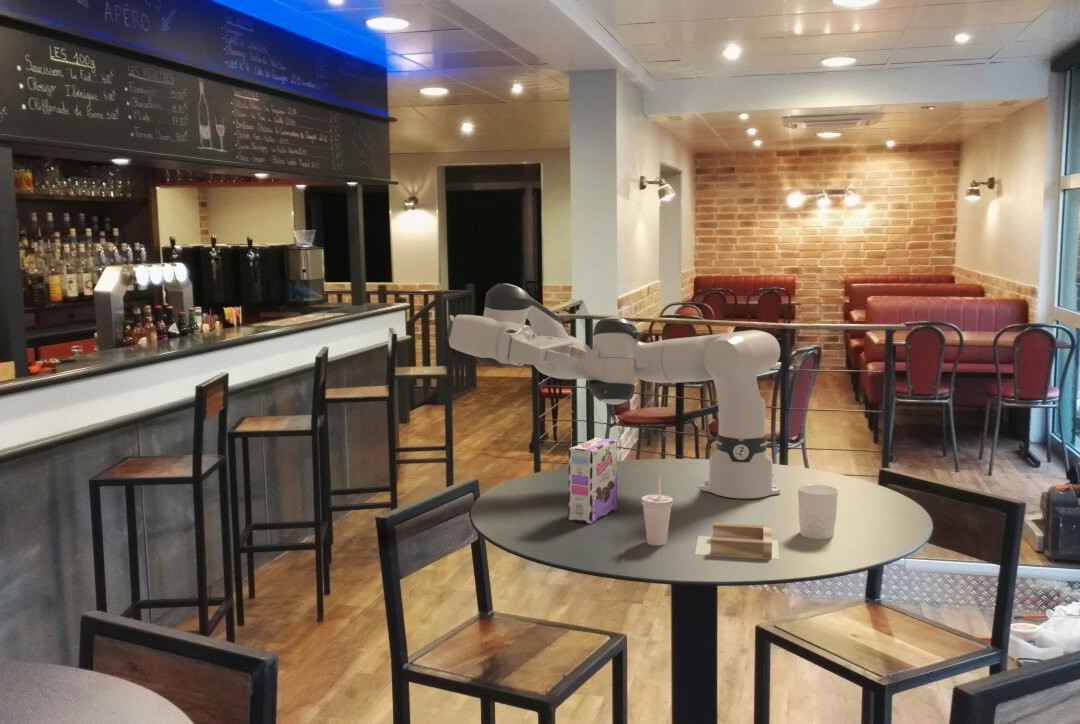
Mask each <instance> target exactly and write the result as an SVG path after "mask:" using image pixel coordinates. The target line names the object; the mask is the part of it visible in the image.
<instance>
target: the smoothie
mask: <svg viewBox="0 0 1080 724" xmlns="http://www.w3.org/2000/svg"><path fill="white" fill-rule="evenodd" d="M657 483H658V487H657V489H658V491H657V492H658V494H647V495H644V496H642V497H641V502H640V504H641V505H642V508H643V516H644V517H643V518H644V524H645V535H646V541H647V544H648V545H651V546H657V547H659V546H664V545H667V540H668V533H669V525H670V519H671V518H670V516H671V510H672V506H673V505H674V501H673V500H674V499H673V498H672V497H671V496H669V495H665V494H662V477H658V481H657Z"/></svg>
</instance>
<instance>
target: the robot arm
mask: <svg viewBox="0 0 1080 724" xmlns="http://www.w3.org/2000/svg"><path fill="white" fill-rule="evenodd" d="M485 294H486V295H485V301H484V302H485V303H484V310H483V316H482V315H475V314H457V315H455V317H454V318H453V319H452V321H451V324H450V327H449V331H448V338H447V339H448V344H449V347H450V348H452V349H453V350H456V351H458V352H461V353H464V354H466V355H470V356H473V357H474V358H475V359H476V361H478V363H479V364H487V365H490V366H494V367H497V368H502V369H505V368H508V367H509V366H511V365H514V366H518V367H522V366H524V365H531V366H534V367H535V369H536V370H537V371H538V372H539V373H541V374H543V375H545V376H548V377H551V378H555V379H560V380H581V379H583V380H586V381H587V384H585V386H584V387H585V388H586V389H588V390H589V391H590V392H591V394H592V396H593V397H594V398H595V399H597V400H598V401H599V402H603V403H605V404H608V405H621V404H623V403H626V402H629V401H631V400H632V399H633V398H634V394H635V390H636V385H635V381H636V377H637V378H638V379H640V380H641V381H644V382H649V383H656V384H657V383H659V384H676V383H689V382H690V383H691V382H693V383H694V382H705V381H711V380H712V381H713V383H714V387H715V391H716V395H717V397H716V398H717V403H718V433H716V438H715V442H716V443H715V445H716V446H715V447H716V451H715V453H713V454H712V455H711V456H710V458H709V463H708V464H709V472H708V479H707V480H706V481H705V482H704V483H702V485H701V487H700V490H701V491H704V492H708V493H712V494H714V495H716V496H717V495H718V496H721V497H723V498H724V497H725V498H731V499H759V498H766V497H768V496H772V495H773V496H775V495H779V494H781V489H780V487H779V486H778V485H777V484H776V483H775V482H774V480H773V476H774V473H773V459H772V458H771V457H770V456H769V454H767V449H768V447H767V446H768V439H767V438H768V436H767V435H766V410H767V409H766V408H767V407H766V402H765V400H764V399H763V398H762V396H761V393H760V389H759V384H758V380H757V379H758V378H757V376H760V375H763V374H765V373H767V372H768V371H770V370H771V369H772V368H774V366H775V365H776V364H777V363H778V361H779V359H780V358H781V357H780V356H781V347H780V343H779V341H778V340H777V338H776V337H775V336H774V335H772V334H771V333H768V332H766V331H762V330H758V329H757V330H756V329H751V330H743V331H742V330H741V331H733V332H724V333H717V334H716V333H715V334H708V335H699V336H691V337H678V338H669V339H663V340H656V341H653V342H642V341H640V340H639V338H641V337H643V336H644V335H643V333H642V332H641V331H638V329H637V327H636V326H635V325H634V324H633V323H632V322H631V321H630V320H628V319H625V318H622V317H619V316H609V317H606V318H602V319H599V320H598V321H597V322H596V323H595V326H594V329H593V333H592V336H593V343H592V348H591V347H590V346H589V345H588V344H586V343H585V342H584V341H582V340H580V338H579V339H578V338H576V337H575V336H572V335H568V333H567V332H566V330H565V328H564V325H563V321H562V319H561V317H559V316H558V315H557V314H556V313H554V312H553V311H552V310H550V309H548V308H547V307H546V306H545V305H543V304H542V303H540V302H539V301H537V300H536V299H534V298H533V297H531V296H530V294H529V293H528V292H527V291H526V290H524V289H523V288H521V287H519V286H517V285H514V284H510V283H497V284H495V285H494V286H492V287H491V288H490V289H489V290H488V291H487V292H486V293H485ZM526 320H528V321H529V325H527V324H526Z"/></svg>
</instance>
